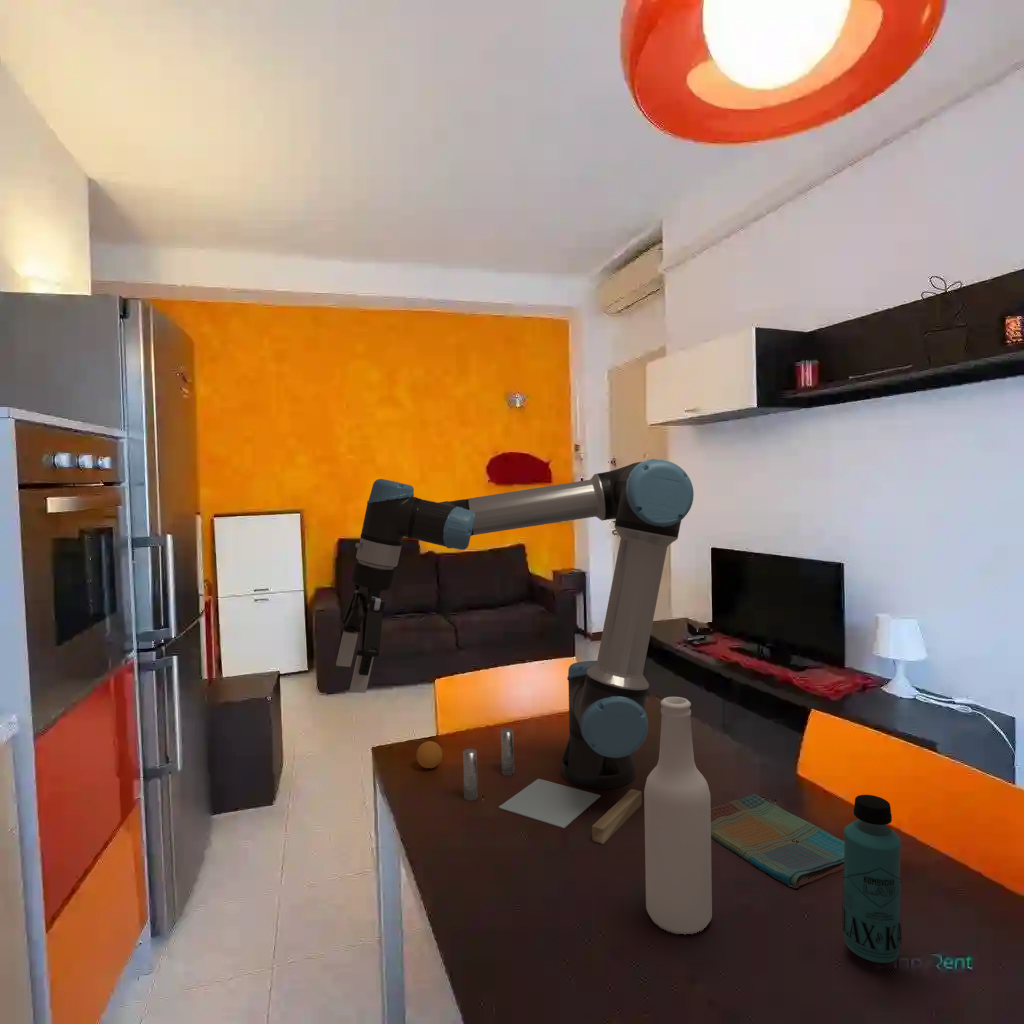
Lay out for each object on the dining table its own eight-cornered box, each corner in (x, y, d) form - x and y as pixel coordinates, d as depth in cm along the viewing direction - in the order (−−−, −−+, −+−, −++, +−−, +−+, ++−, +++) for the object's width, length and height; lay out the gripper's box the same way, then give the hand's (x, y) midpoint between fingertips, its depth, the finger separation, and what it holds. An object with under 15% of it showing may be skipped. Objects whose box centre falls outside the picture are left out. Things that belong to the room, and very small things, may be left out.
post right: (516, 772, 138) (515, 729, 138) (509, 776, 136) (508, 733, 136) (506, 769, 140) (505, 727, 140) (499, 774, 138) (498, 731, 137)
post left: (480, 796, 128) (479, 750, 128) (472, 801, 126) (470, 755, 126) (469, 793, 130) (468, 747, 129) (461, 798, 127) (460, 752, 127)
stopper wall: (641, 804, 123) (641, 791, 123) (603, 844, 110) (602, 829, 110) (631, 801, 124) (631, 788, 124) (592, 840, 111) (592, 826, 111)
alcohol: (725, 920, 90) (723, 702, 89) (681, 946, 85) (678, 716, 84) (676, 888, 97) (673, 686, 96) (632, 911, 93) (629, 699, 91)
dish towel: (794, 897, 96) (794, 879, 96) (683, 825, 117) (683, 811, 117) (870, 863, 104) (870, 847, 104) (753, 802, 125) (753, 788, 125)
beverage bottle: (831, 941, 86) (830, 789, 85) (880, 937, 86) (880, 786, 85) (862, 979, 79) (862, 814, 78) (915, 974, 80) (915, 810, 79)
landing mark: (600, 796, 127) (600, 795, 127) (564, 828, 115) (564, 827, 115) (538, 779, 135) (538, 778, 135) (498, 808, 123) (498, 807, 123)
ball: (448, 765, 143) (447, 740, 142) (431, 775, 138) (430, 749, 138) (428, 760, 146) (427, 735, 146) (411, 769, 141) (410, 743, 141)
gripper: (342, 549, 130) (319, 654, 130) (370, 575, 107) (342, 702, 108) (379, 555, 133) (356, 658, 134) (414, 582, 110) (386, 705, 111)
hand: (350, 678), depth 121 cm, fingers open, 13 cm apart
